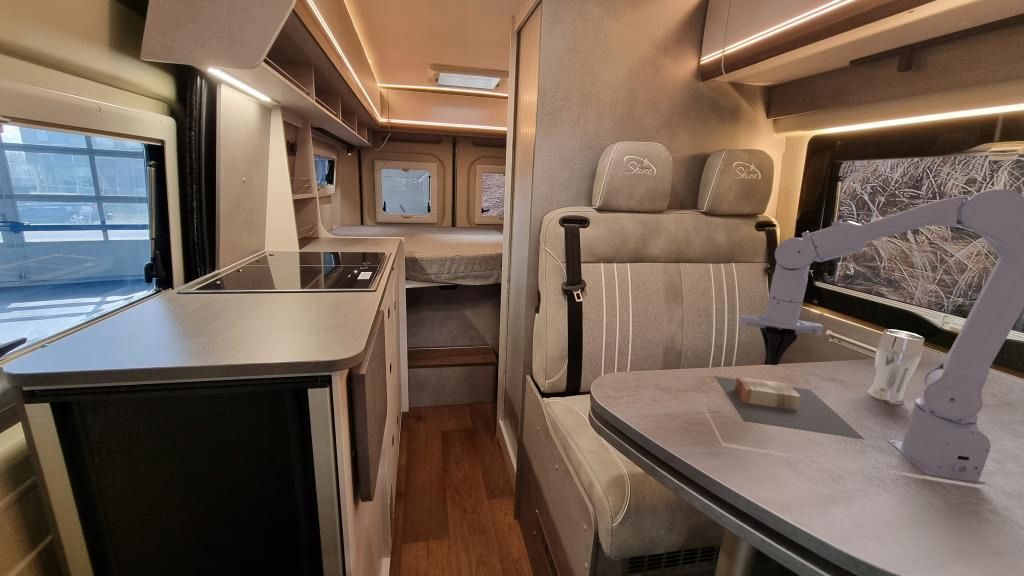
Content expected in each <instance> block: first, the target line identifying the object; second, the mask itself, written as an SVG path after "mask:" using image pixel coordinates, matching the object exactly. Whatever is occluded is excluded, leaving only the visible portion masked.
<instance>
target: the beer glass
mask: <svg viewBox="0 0 1024 576" xmlns="http://www.w3.org/2000/svg"><path fill="white" fill-rule="evenodd" d="M924 342H925V337H923V336H921V335H918V334H916V333H912V332H909V331H904V330H898V329H890V328H889V329H888V328H887V329H883V332H882V334H881V337H880V339H879V341H878V344H877V345H878V346H877V347H876V352H875V359H874V361H875V363H874V377H873V380H872V382H871V383H872V384H871V385H870V387H869V388H868V390H867V393H868V394H869V395H870V396H871V397H873V398H875V399H878V400H880V401H882V402H884V403H885V404H890V405H894V406H895V405H897V406H900V405H903V404H904V402H905V399H904V398H905V389H906V387H907V385H908V383H909V381H910V379H911V378H912V376H913V374H914V373H915V370H916V369H917V367H918V365H919V363H920V360H921V357H922V354H923V350H924V349H923V348H924Z"/></svg>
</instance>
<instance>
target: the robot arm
mask: <svg viewBox="0 0 1024 576" xmlns="http://www.w3.org/2000/svg"><path fill="white" fill-rule="evenodd" d="M968 197H970V194H965V195H958V196H953V197H949V198H944V199H939V200H936V201H935V200H933V201H932V202H928V203H925V204H922V205H918V206H916V207H913V208H909V209H906V210H903V211H900V212H897V213H894V214H890V215H888V216H886V217H882V218H878V219H875V220H872V221H870V222H867V223H864V224H861V223H857V222H855V221H852V220H847V221H845V222H843V221H842V220H837V221H833V222H832V223H831V226H828V227H826V228H821V229H818V230H816V231H813V232H810V231H808V230H807V231H804V232H801V235H802V237H789V238H788V239H786V240H783V241H782V242H781V243H779V244H778V245H777V247H776V249H775V251H774V259H775V261H776V264H775V267H774V268H775V269H774V273H773V275H772V280H771V284H770V289H769V293H768V298H767V303H766V308H765V313H764V315H753V314H752V315H751V314H750V315H749V314H748V315H746V314H740V315H739V319H738V325H739V326H741V327H742V328H744V327H745V328H747V327H752V328H753V327H754V328H759V330H760V333H761V336H762V338H763V342H764V349H765V362H766V363H768V365H770V366H778V364H779V361H780V360H781V358H782V356H784V353H785V352H786V350H787V349H789V347H790V346H791V345H792V344H793V343H794V342H796V341H797V339H798V336H799V335H798V334H797V333H806V334H811V335H812V334H813V335H814V336H815V335H816V336H822V334H823V330H824V325H822V324H820V323H818V322H810V321H804V320H800V316H801V311H802V307H803V301H804V298H805V295H806V294H805V293H806V289H807V285H808V280H809V278H808V277H809V272H810V268H811V264H812V263H814V262H818V263H822V262H826V261H829V260H833V259H837V258H840V257H845V256H849V255H852V254H855V253H860V252H862V251H863V249H865V247H866V245H867V244H868V243H869V242H870V241H874V240H878V239H881V238H882V239H883V238H885V237H890V236H893V235H897V234H900V233H904V232H909V231H913V230H917V229H921V228H925V227H929V226H936V227H949V228H950V227H951V228H957V225H958V224H957V223H958V222H957V220H959V221H960V222H961V224H962V225H963V226H964V227H966V228H967V229H968V230H970V231H972V232H973V233H974V234H976V235H979V236H980V237H981V238H983V239H984V240H985V242H986V243H987V244H988V245H989V247H990V248H991V249H992V250H993V251H994V254H996V255H997V257H998V259H997V260H996V262H995V264H994V266H993V268H992V269H991V272H990V273H989V276H988V278H987V280H986V281H985V283H984V285H983V287H982V289H981V291H980V292H979V294H978V297H977V298H976V300H975V302H974V304H973V305H972V308H971V310H970V311H969V313H968V315H967V317H966V319H965V321H964V323H963V325H962V327H961V329H960V330H959V333H958V335H957V336H956V339H955V340H954V342H953V343H952V346H951V347H950V349H949V350H948V352H947V353H946V354H945V356H944V357H943V359H942V361H941V362H940V363H939V365H938V366H936V367H934V368H932V369H930V370H929V371H928V372H927V373H926V374H925V377H924V386H925V387H924V389H923V390H924V391H923V395H922V396H920V397H918V398H916V399H915V401H914V405H913V407H912V411H911V413H910V417H909V421H908V423H907V426H906V430H905V433H904V436H903V439H902V440H896V439H888V440H887V442H888V443H890V445H891V446H893V447H894V448H895V449H896V450H898V451H899V452H900V453H901V454H902V455H903V456H904V457H905V458H907V459H908V460H910V462H912V463H913V464H914V465H915V466H916V467H917V468H919V469H920V470H921V471H922V472H923V473H925V474H927V475H930V476H931V475H932V476H936V477H943V478H949V479H955V480H962V481H967V482H973V483H979V484H980V483H981V484H985V483H986V480H985V479H983V478H982V477H981V476H982V473H983V470H984V468H985V464H986V462H987V459H988V457H989V454H990V452H991V442H990V439H989V438H988V436H987V435H986V434H985V433H983V432H982V431H981V429H980V428H979V426H978V420H979V417H978V414H979V413H980V412H981V411H982V408H983V406H984V405H983V403H984V402H983V397H982V391H983V388H984V386H985V384H986V382H987V378H988V376H989V372H990V368H991V366H992V364H993V362H994V360H995V359H996V357H997V355H998V354H999V352H1000V350H1001V348H1002V347H1003V344H1004V343H1005V341H1006V340H1007V338H1008V335H1009V334H1010V333H1011V331H1012V329H1013V327H1014V326H1015V324H1016V322H1017V320H1018V319H1019V317H1020V315H1021V313H1022V311H1023V310H1024V195H1022V194H1021V193H1019V192H1017V191H1015V190H1012V189H1007V188H992V189H987V190H983V191H980V192H979V193H976V194H974V195H973V196H972V197H970V198H968ZM967 198H968V199H967ZM966 199H967V200H966ZM964 200H965V201H964Z"/></svg>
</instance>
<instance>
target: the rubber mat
mask: <svg viewBox="0 0 1024 576" xmlns="http://www.w3.org/2000/svg"><path fill="white" fill-rule="evenodd" d="M715 379H716V381H717V382H718V384H719V385H720V386H721V388H722V390H723V391H724V393H725V394H726V396H727V397H728V399H729V400H730V402H731V404H732V405H733V406H734V408H735V410H736V411H737V412H738V415H740V417H741V418H742V420H743V421H744V422H748V423H755V424H760V425H761V424H762V425H767V426H768V425H769V426H774V427H780V428H788V429H794V430H801V431H805V432H806V431H807V432H808V431H809V432H813V433H821V434H827V435H833V436H840V437H847V438H853V439H860V440H865V438H864V437H863V435H861V434H860V433H859V432H858V431H857V430H855V429H854V428H853V427H852V426H851V425H850V424H849V423H847V421H845V420H844V419H843V418H842V417H841V416H840V415H839V414H838V413H837V412H835V410H834V409H832V408H831V407H830V405H828V404H827V403H826V402H824V400H822V399H821V398H820V397H819V396H818V395H817V394H816V393H815V392H814V391H812V389H811V388H810V389H808V388H801V387H795V386H791V387H792V388H793V389H794V390H795V391H796V392H797V393H798V394H799V395H800V396H801V398H800V402H799V406H798V410H792V409H785V408H778V407H771V406H764V405H757V404H751V403H744V402H743V401H742V400H741V398H740V397H739V395H738V394H737V392H736V391H735V390H734V389H735V384H736V379H737V378H728V377H721V376H715Z"/></svg>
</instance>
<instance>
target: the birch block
mask: <svg viewBox="0 0 1024 576" xmlns="http://www.w3.org/2000/svg"><path fill="white" fill-rule="evenodd" d="M735 379H736V384H735V389H734V390H735V391H736V392H737V394H738V395H739V397H740V398H741V400H742V401H743V402H744V403H751V404H757V405H764V406H771V407H778V408H785V409H792V410H798V406H799V402H800V398H801V396H800V395H799V394H798V393H797V392H796V391H795V390H794V389H793V388H792V387H793V386H791V385H789V383H786V382H785V383H784V382H778V381H772V380H771V381H770V380H764V379H756V378H750V377H741V376H737V377H736V378H735Z"/></svg>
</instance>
